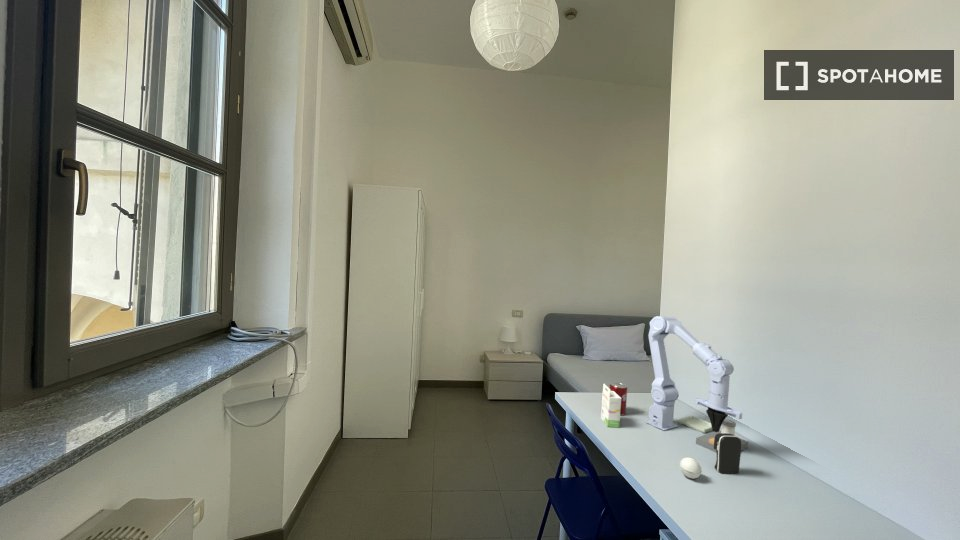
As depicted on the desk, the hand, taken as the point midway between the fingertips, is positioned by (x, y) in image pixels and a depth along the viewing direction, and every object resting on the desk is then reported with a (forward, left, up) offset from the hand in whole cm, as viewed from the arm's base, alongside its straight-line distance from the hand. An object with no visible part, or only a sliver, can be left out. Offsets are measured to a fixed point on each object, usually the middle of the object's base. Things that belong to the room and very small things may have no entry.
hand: (715, 431), depth 125 cm
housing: (+5, 0, -6) cm, 8 cm away
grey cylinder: (+9, 0, -6) cm, 11 cm away
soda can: (-7, +36, -6) cm, 37 cm away
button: (0, 0, -5) cm, 5 cm away
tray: (+14, +13, -6) cm, 20 cm away
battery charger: (-13, -9, -6) cm, 17 cm away
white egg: (-28, -7, -6) cm, 30 cm away
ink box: (-19, +30, -6) cm, 36 cm away
